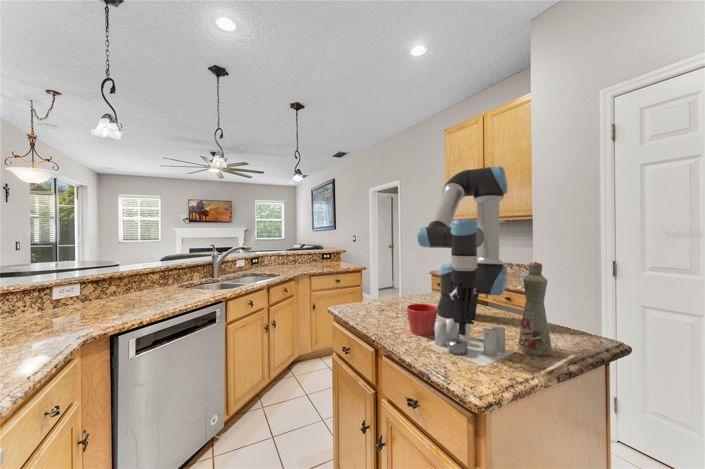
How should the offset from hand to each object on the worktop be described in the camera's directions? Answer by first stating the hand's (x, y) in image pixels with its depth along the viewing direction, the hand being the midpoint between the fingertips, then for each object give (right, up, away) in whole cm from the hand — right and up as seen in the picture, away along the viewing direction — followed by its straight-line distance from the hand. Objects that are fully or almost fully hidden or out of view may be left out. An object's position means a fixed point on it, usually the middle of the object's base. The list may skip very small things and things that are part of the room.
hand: (464, 344), depth 89 cm
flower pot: (-10, -2, +15) cm, 18 cm away
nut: (-3, -2, -2) cm, 4 cm away
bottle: (+21, -2, -2) cm, 21 cm away
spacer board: (+2, -2, +1) cm, 3 cm away
